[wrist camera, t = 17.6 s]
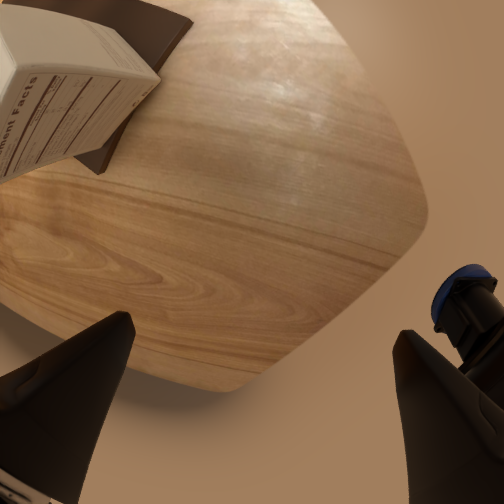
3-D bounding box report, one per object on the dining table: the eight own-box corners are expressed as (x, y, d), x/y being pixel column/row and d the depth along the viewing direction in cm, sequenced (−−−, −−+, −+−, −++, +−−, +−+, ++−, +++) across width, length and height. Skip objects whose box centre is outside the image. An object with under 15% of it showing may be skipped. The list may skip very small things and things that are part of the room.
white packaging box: (60, 94, 16) (-64, 116, 4) (115, 27, 13) (-14, -3, 2) (101, 151, 18) (-34, 206, 7) (165, 82, 15) (15, 63, 4)
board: (194, 22, 14) (189, 18, 13) (104, 172, 20) (97, 175, 19) (18, -17, 8) (13, -18, 7) (-24, 72, 14) (-29, 73, 13)
